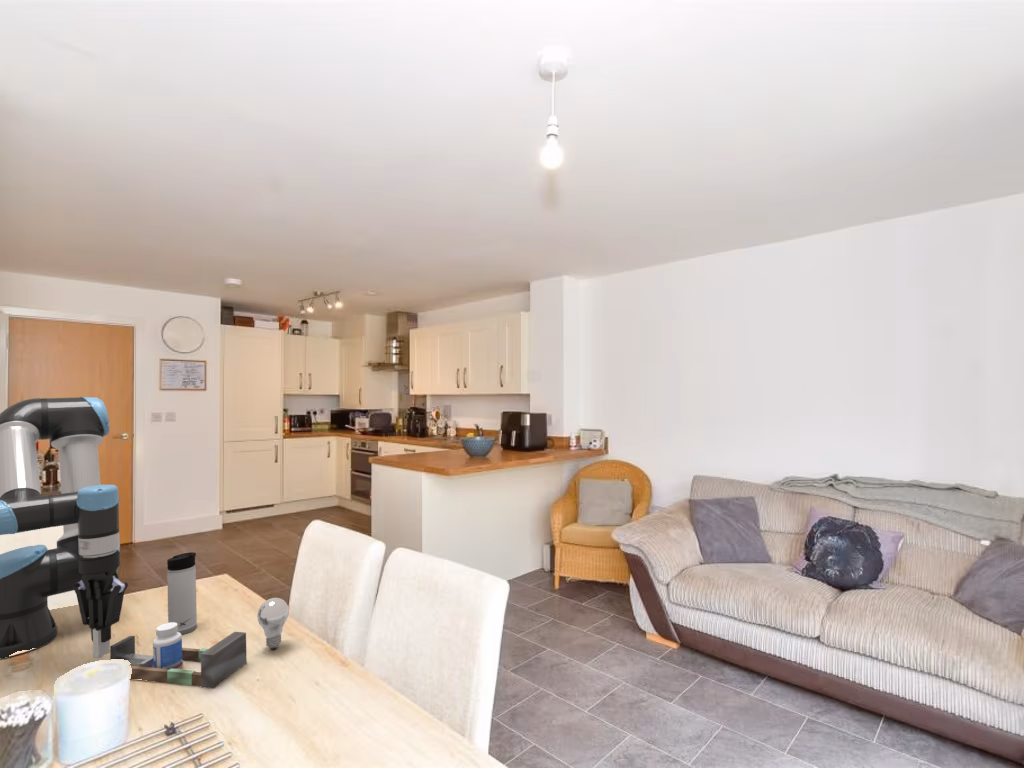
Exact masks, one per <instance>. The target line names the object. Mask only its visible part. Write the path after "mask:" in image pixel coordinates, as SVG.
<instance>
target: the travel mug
mask: <svg viewBox="0 0 1024 768" xmlns="http://www.w3.org/2000/svg"><path fill="white" fill-rule="evenodd" d="M196 555H197V553H196V552H193V551H192V552H191V551H190V552H185V553H180V554H177V555H174V556H173V557H170V558H168V559H167V561H166V563H167V564H166V565H167V569H166V571H167V572H166V573H167V574H166V575H167V577H166V578H167V579H166V580H167V582H166V583H167V617H168V619H167V621H168V622H167V623H171V622H175V623H177V625H178V630H177V632H179V633H181V635H182V636H183V635H186V634H189V633H192V632H193V631H195V630H196V629H197V627H198V625H197V624H198V622H197V620H198V619H197V618H198V617H197V572H196V571H197V570H196V565H197V564H196V557H197V556H196Z"/></svg>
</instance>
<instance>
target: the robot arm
mask: <svg viewBox="0 0 1024 768" xmlns="http://www.w3.org/2000/svg"><path fill="white" fill-rule="evenodd" d="M106 407H107V406H106V404H105V403H104V401H103V400H102V399H100V398H99V397H93V396H91V397H90V396H88V397H85V396H79V397H47V398H45V397H44V398H40V397H39V398H37V397H36V398H28V399H24V400H20V401H18V402H16V403H14V404H11V405H10V406H8V407H7V408H5V409H4V410H3V411H2V412H0V536H4V535H16V534H18V533H25V532H31V531H37V530H42V529H48V528H55V527H60V526H61V527H62V526H63V534H62V535H61V537H59V539H58V540H56V547H55V548H52V549H48V547H47V546H46V545H45V544H35V545H28V546H23V547H20V548H15V549H12V550H9V551H5V552H3V553H1V554H0V658H1V659H2V658H3V659H6V658H5V657H8V658H10V657H9V655H11V654H13V653H15V652H17V651H22V650H30V649H32V648H37V649H39V648H41V647H43V646H45V645H48V644H49V643H51V642H53V640H55V639H56V638H57V636H58V625H57V622H56V621H55V619H54V617H53V615H52V612H51V611H50V608H49V604H48V598H49V597H51V596H56V595H59V594H65V593H69V592H73V591H74V593H75V594H76V599H77V604H78V608H79V613H80V618H81V621H82V625H83V626H88V627H89V629H90V631H91V633H90V634H91V639H90V640H91V642H92V653H93V654H92V655H93V659H100V658H102V657H104V656H106V655H107V654H110V646H111V644H110V642H111V641H110V640H111V639H112V626H113V625H115V624H117V623H118V622H119V621H120V618H121V614H122V613H121V612H122V608H123V602H124V596H125V592H126V590H127V588H128V586H129V584H128V582H126V581H125V582H122V581H120V579H119V574H118V573H117V572H118V568H119V567H120V566H121V541H120V540H121V539H120V537H121V536H120V522H119V521H120V519H119V518H120V514H119V513H120V505H119V502H120V497H119V488H118V486H117V485H115V484H109V483H108V484H102V483H101V471H100V461H99V448H98V446H100V444H101V443H103V442H104V440H105V439H104V437H105V436H108V435H109V433H110V423H109V421H110V419H109V414H108V410H107V408H106ZM39 440H40V441H42V440H50V445H51V447H53V448H54V449H56V450H58V461H59V474H60V477H59V479H60V493H57V494H55V493H54V494H48V495H47V494H46V495H42V490H41V481H40V473H39V464H38V455H37V454H38V453H37V445H36V443H37V442H38V441H39ZM1 659H0V660H1Z"/></svg>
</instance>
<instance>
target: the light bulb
mask: <svg viewBox="0 0 1024 768" xmlns="http://www.w3.org/2000/svg"><path fill="white" fill-rule="evenodd" d="M289 613H290V608H289V606H288V604H287V602H286V601H285V600H284V599H283V598H279V597H271V598H269V599H267V600H265V601H264V602H263V603H262V604H261V605H260V606H259V608H258V610H257V614H256V618H257V622H258V624H259V626H260V627H261V628H262V630H263V631H264V635H265V637H266V639H265V640H266V641H265V644H266V647H267V648H269V649H271V650H276V649H277V648H278V647H279V646H280V644H281V643H282V633H283V627H284V625H285V624H286V621H287V619H288V617H289Z"/></svg>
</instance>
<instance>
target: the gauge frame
mask: <svg viewBox="0 0 1024 768" xmlns="http://www.w3.org/2000/svg"><path fill="white" fill-rule="evenodd" d="M182 659H183V662H186V661H187V662H195V663H200V671H196V670H191V669H184V668H183V669H182V668H180V669H172V668H171V669H161V668H154V667H152V668H150V667H140V666H137V665H130V666H131V668H132V674H131V679H130V680H132V679H142V680H147V681H146V682H151V681H155V682H154V683H160V684H161V683H163V684H172V685H181V686H191V687H192V686H193V687H201V688H204V687H205V688H206V689H215V688H216V687H217V686H219V685H220V684H222V683H223V682H224V681H225V680H227V679H228V678H230V677H231V676H232V675H233V674H235V673H236V672H237V671H238V670H240V669H241V668H242V667H244V666H245V665H246V664H247V663H248V662H247V660H248V659H247V632H245V631H244V632H243V631H234V632H231V633H230V634H229V635H227V636H226V637H223V639H221V640H220V641H218V642H217V643H215V644H213V645H212V646H211V647H209V648H191V647H190V648H189V647H188V648H187V647H182ZM243 665H244V666H243ZM239 668H240V669H239ZM230 675H231V676H230ZM205 688H204V689H205Z"/></svg>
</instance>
